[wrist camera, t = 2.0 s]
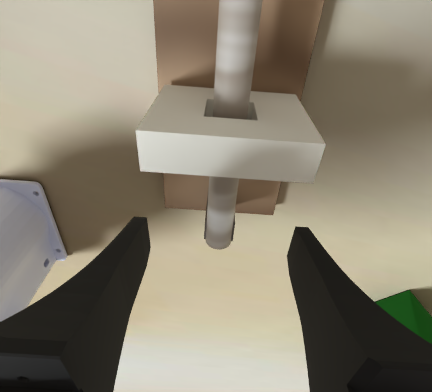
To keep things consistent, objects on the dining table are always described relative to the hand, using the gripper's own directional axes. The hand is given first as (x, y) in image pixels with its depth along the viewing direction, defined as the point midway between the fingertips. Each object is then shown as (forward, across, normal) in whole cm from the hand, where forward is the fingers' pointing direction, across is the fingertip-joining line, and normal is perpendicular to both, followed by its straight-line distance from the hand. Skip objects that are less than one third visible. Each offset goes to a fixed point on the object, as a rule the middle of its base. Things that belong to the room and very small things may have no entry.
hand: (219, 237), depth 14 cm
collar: (+8, 0, -4) cm, 9 cm away
